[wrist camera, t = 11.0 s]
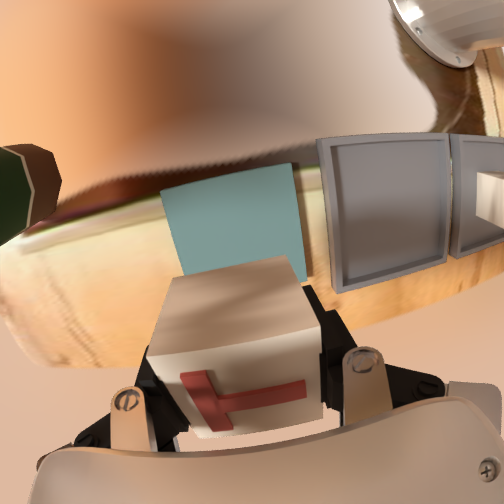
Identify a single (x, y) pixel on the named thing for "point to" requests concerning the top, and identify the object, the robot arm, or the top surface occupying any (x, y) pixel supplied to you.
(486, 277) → the top surface
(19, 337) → the top surface
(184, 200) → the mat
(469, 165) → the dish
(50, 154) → the beer bottle
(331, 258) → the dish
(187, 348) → the letter cube
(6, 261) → the top surface
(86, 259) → the top surface
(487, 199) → the plain cube
